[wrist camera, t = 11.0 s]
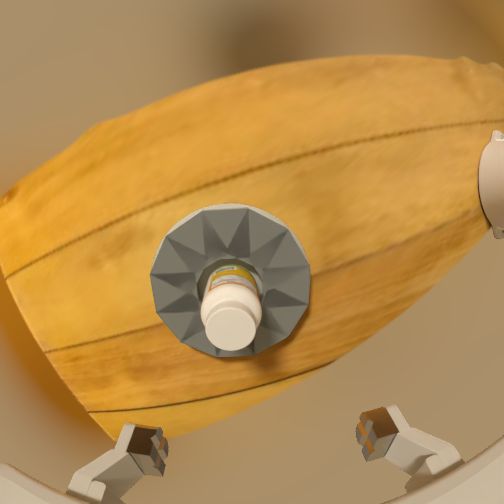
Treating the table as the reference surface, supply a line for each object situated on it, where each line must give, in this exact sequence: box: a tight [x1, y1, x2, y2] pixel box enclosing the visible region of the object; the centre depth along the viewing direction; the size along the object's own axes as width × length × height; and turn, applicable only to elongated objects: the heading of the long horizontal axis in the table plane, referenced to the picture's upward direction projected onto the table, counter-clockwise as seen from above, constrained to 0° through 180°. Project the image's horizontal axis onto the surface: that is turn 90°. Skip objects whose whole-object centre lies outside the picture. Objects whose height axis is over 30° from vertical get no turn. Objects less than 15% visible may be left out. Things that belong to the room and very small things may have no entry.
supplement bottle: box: [201, 264, 262, 351], centre depth 25 cm, size 5×5×10 cm
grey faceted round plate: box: [150, 203, 310, 357], centre depth 30 cm, size 18×18×2 cm
